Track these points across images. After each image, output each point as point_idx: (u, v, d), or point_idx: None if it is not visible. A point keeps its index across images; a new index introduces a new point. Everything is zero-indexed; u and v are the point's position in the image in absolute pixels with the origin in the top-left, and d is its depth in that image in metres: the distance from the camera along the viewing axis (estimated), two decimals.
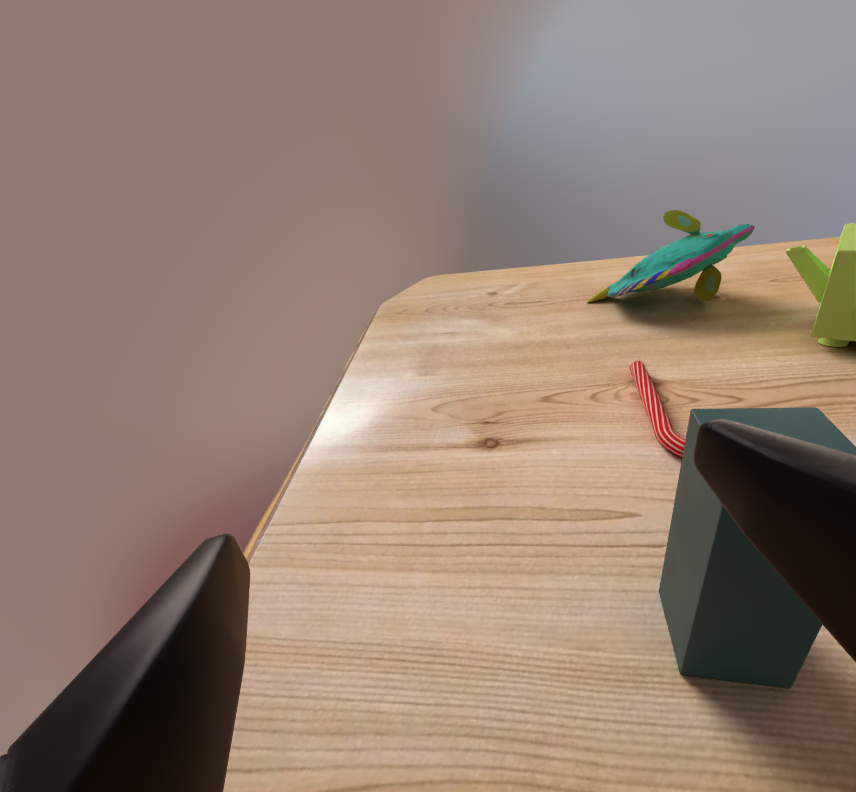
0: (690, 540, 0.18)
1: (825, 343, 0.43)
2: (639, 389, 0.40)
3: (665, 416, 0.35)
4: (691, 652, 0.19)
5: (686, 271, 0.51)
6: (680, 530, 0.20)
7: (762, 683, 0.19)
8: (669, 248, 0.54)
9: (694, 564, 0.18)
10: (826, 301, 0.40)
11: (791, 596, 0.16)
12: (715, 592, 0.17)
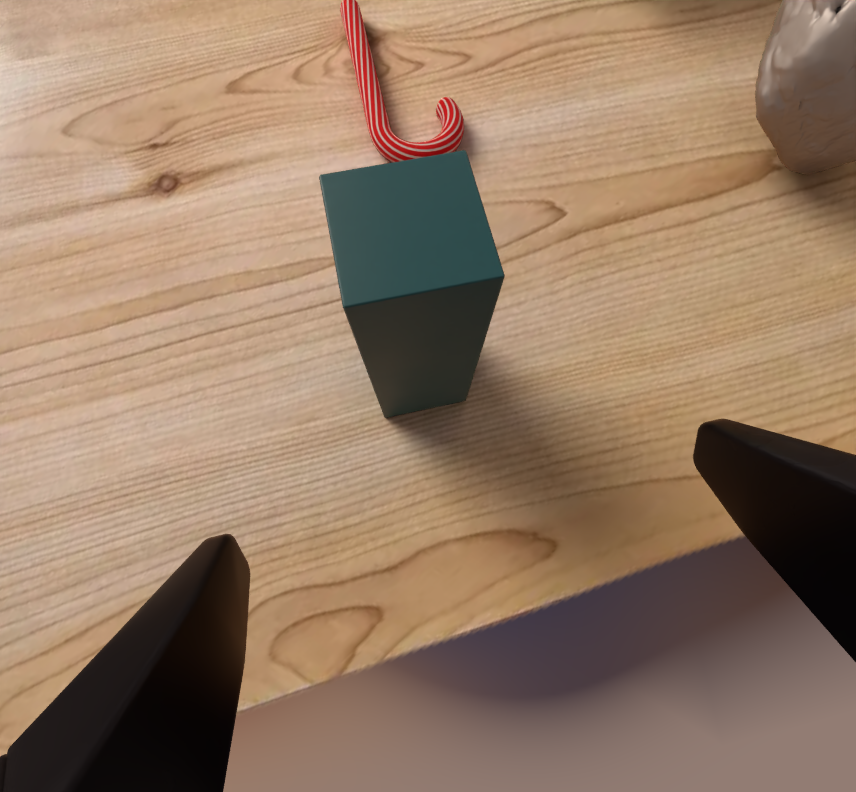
0: None
1: None
2: (351, 55, 0.29)
3: (379, 104, 0.27)
4: (386, 407, 0.21)
5: None
6: None
7: (445, 404, 0.23)
8: None
9: None
10: None
11: (445, 363, 0.17)
12: (383, 377, 0.17)
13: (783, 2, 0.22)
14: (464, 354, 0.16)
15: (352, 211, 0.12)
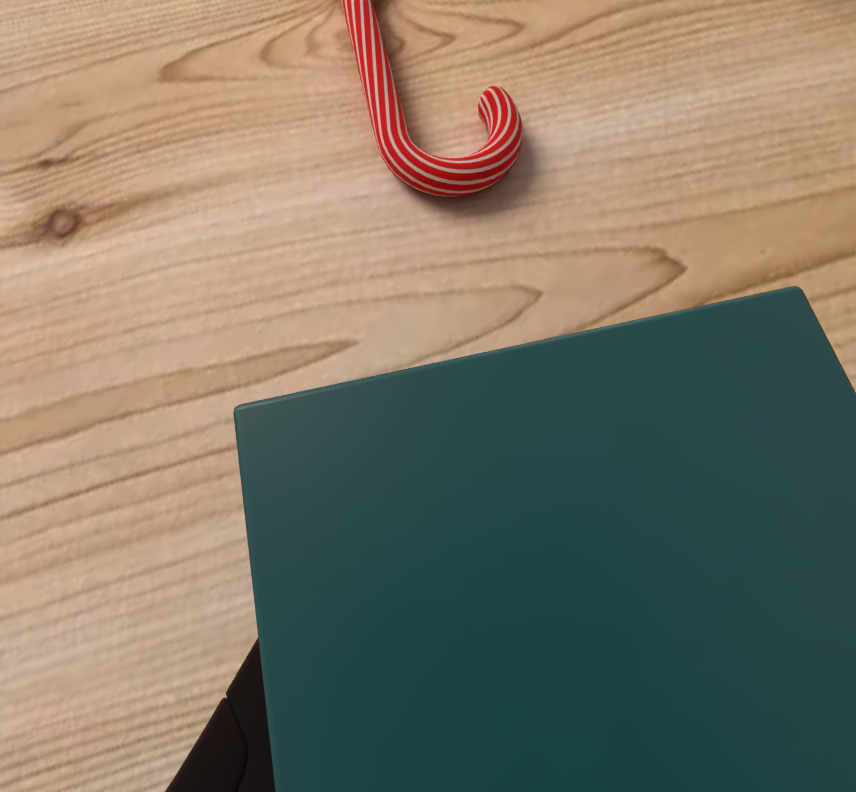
0: None
1: None
2: (347, 23, 0.19)
3: (392, 97, 0.18)
4: None
5: None
6: None
7: None
8: None
9: None
10: None
11: None
12: None
13: None
14: None
15: (373, 602, 0.03)
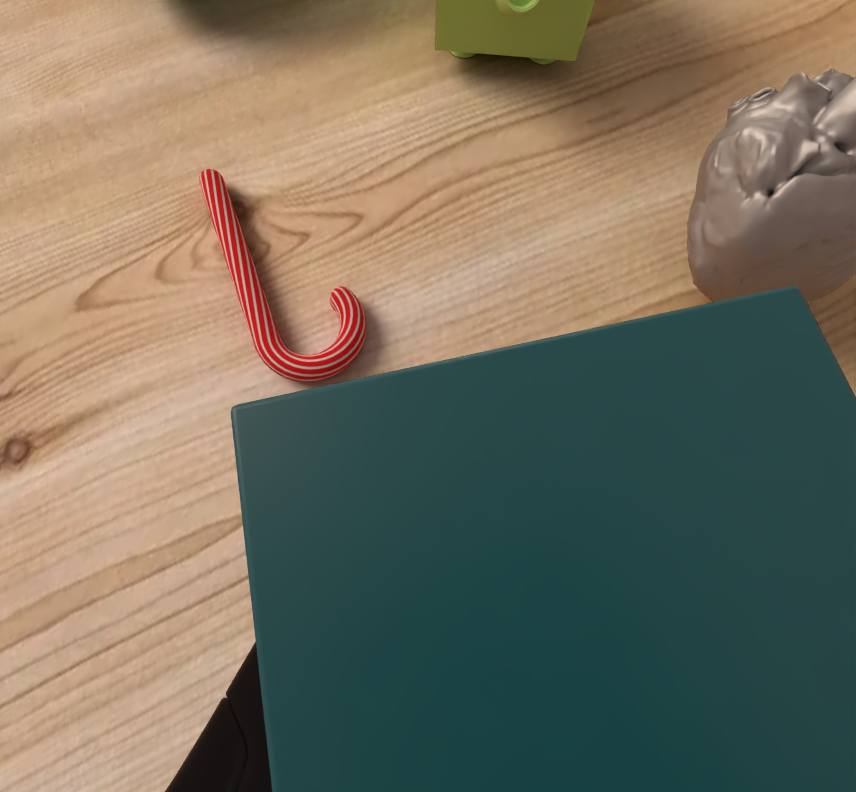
0: None
1: (455, 52, 0.30)
2: None
3: (261, 311, 0.23)
4: None
5: None
6: None
7: None
8: None
9: None
10: None
11: None
12: None
13: (704, 168, 0.19)
14: None
15: (370, 603, 0.03)
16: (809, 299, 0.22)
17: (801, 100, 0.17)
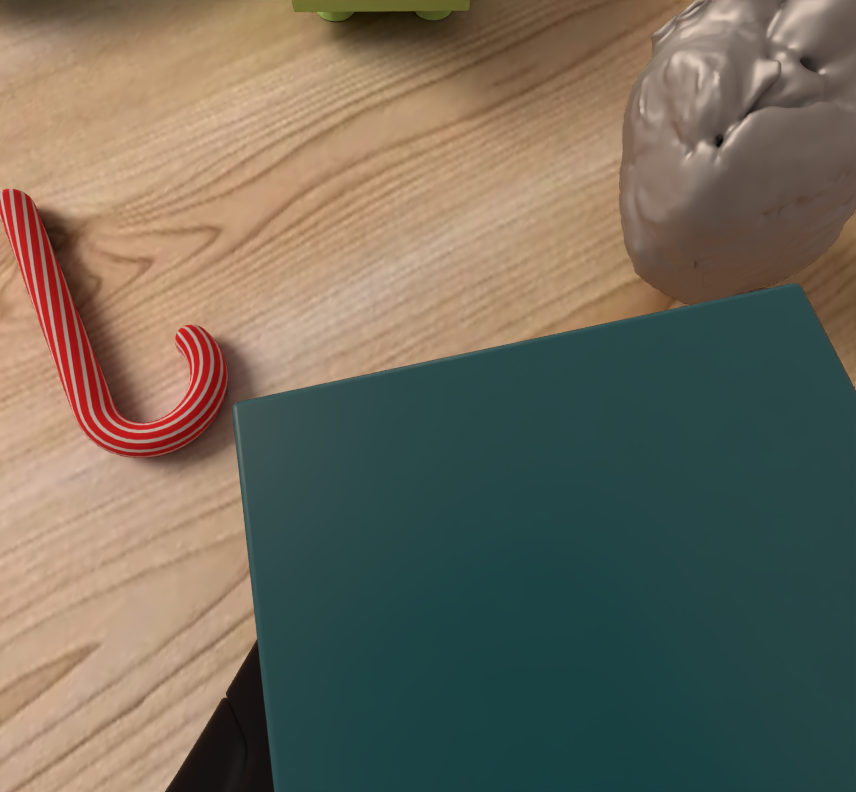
0: None
1: (325, 15, 0.24)
2: None
3: (79, 370, 0.17)
4: None
5: None
6: None
7: None
8: None
9: None
10: None
11: None
12: None
13: (629, 119, 0.14)
14: None
15: (371, 600, 0.03)
16: (783, 276, 0.17)
17: (746, 4, 0.12)
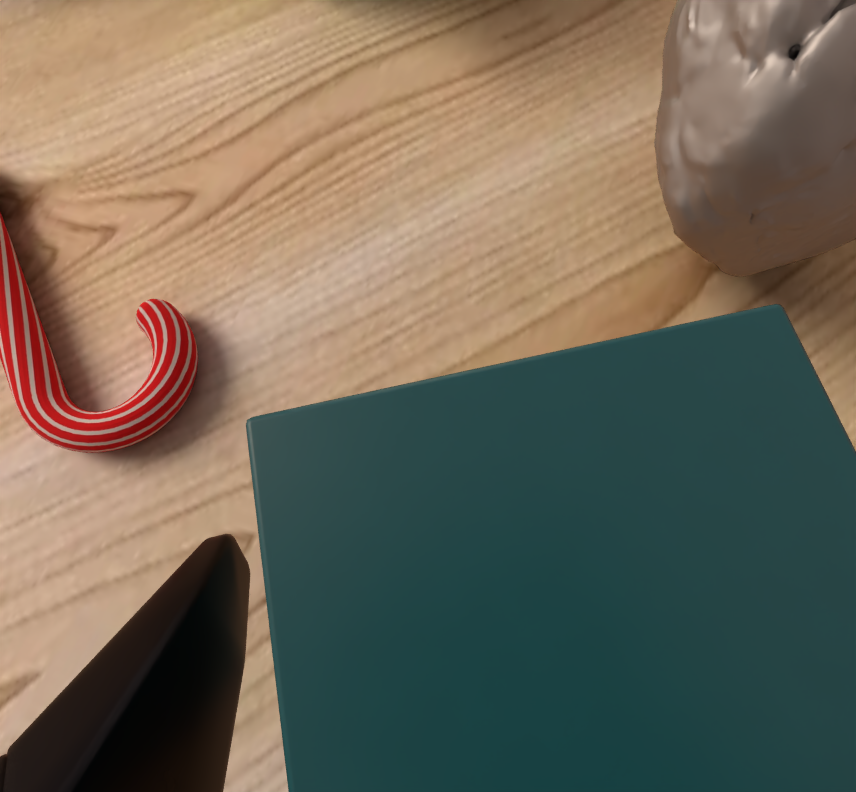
0: None
1: None
2: None
3: (23, 350, 0.15)
4: None
5: None
6: None
7: None
8: None
9: None
10: None
11: None
12: None
13: (673, 40, 0.12)
14: None
15: (378, 604, 0.03)
16: (845, 240, 0.15)
17: None
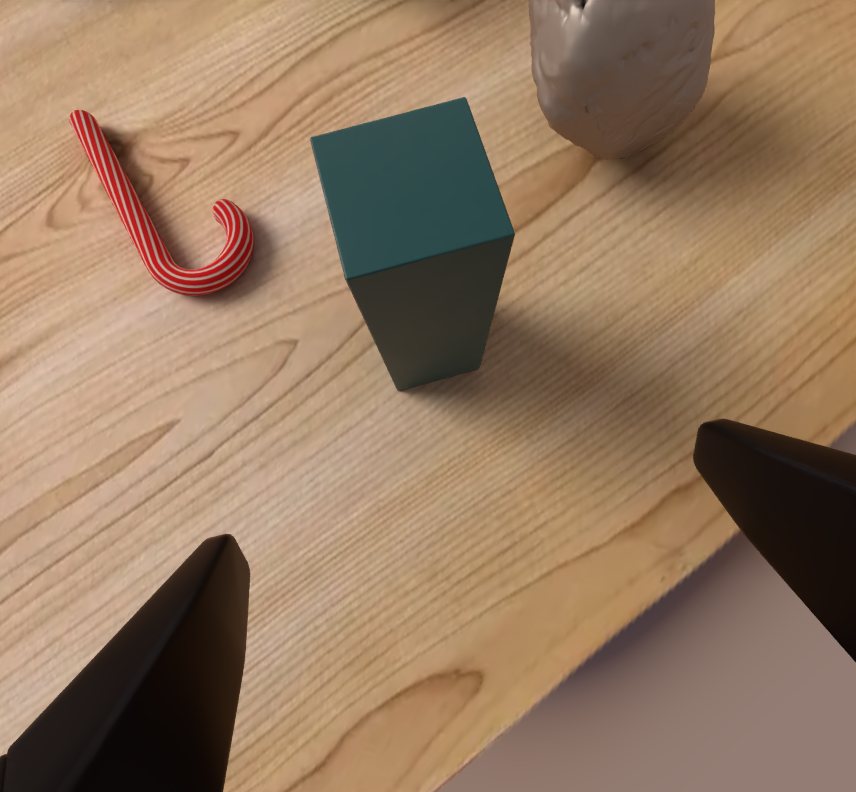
0: None
1: None
2: (101, 181, 0.25)
3: (147, 234, 0.24)
4: (398, 380, 0.21)
5: None
6: None
7: (459, 373, 0.22)
8: None
9: None
10: None
11: (456, 331, 0.16)
12: (393, 350, 0.16)
13: (529, 0, 0.19)
14: (476, 320, 0.16)
15: (348, 175, 0.11)
16: (668, 125, 0.22)
17: None
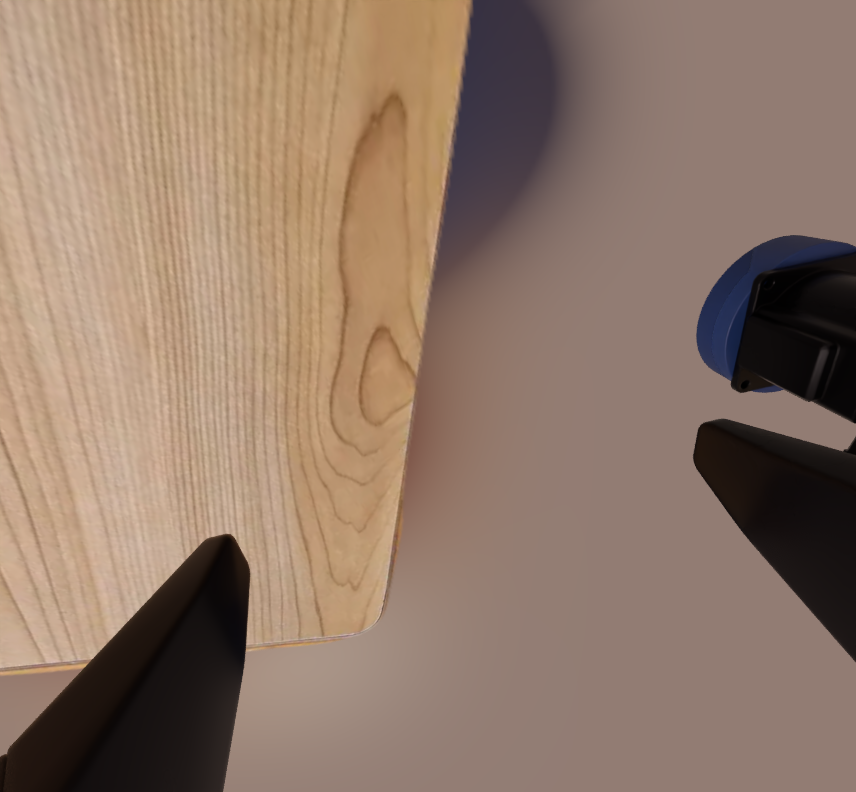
0: None
1: None
2: None
3: None
4: None
5: None
6: None
7: None
8: None
9: None
10: None
11: None
12: None
13: None
14: None
15: None
16: None
17: None
